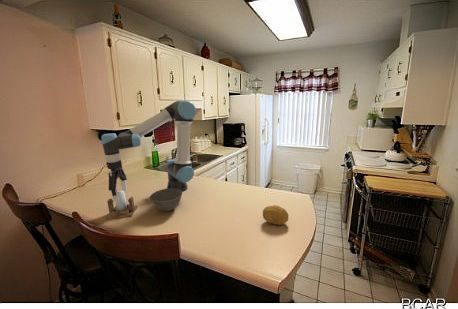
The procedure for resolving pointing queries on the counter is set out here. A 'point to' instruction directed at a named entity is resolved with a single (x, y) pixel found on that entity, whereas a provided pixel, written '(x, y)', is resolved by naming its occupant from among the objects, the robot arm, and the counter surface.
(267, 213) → the potato
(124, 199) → the roll
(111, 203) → the stand
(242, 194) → the counter surface
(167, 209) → the bowl
